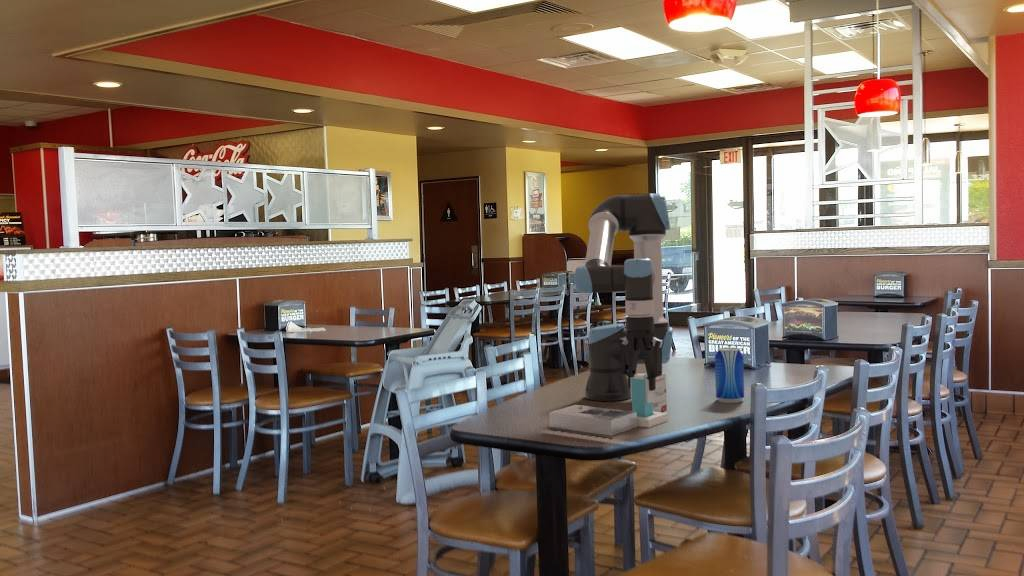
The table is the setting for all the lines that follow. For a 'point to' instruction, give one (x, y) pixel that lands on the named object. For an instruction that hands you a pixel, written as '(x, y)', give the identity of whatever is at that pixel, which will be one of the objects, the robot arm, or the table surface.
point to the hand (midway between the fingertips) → (642, 401)
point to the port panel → (593, 420)
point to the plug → (640, 396)
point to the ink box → (660, 394)
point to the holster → (652, 419)
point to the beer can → (729, 375)
